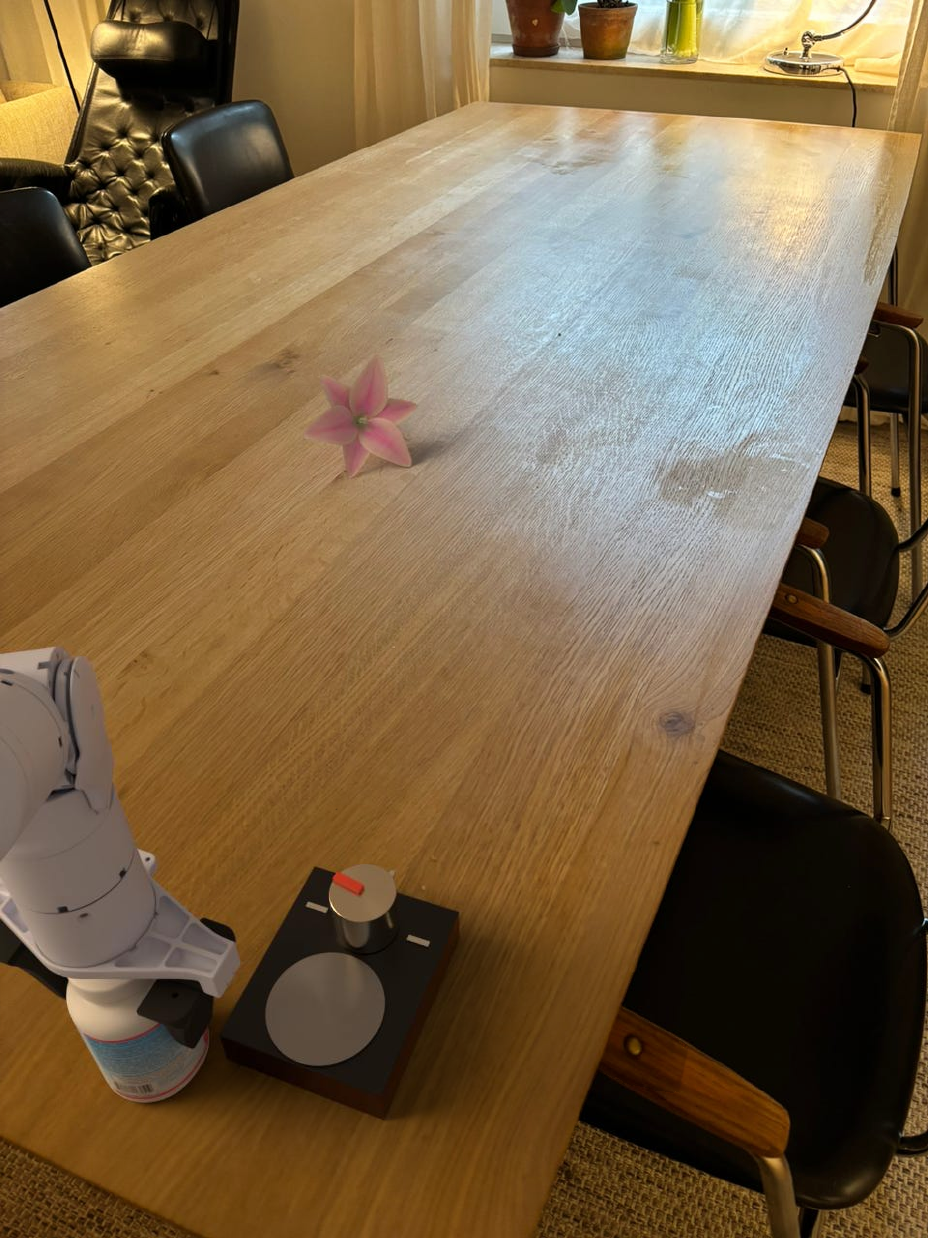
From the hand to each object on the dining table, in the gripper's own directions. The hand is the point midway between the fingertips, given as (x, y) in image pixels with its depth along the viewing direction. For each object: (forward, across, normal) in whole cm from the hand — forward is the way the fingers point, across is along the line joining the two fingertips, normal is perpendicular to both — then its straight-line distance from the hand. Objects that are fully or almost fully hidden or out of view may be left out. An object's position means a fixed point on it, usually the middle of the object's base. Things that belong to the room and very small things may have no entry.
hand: (137, 1007), depth 55 cm
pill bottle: (+5, 0, 0) cm, 5 cm away
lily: (+6, +16, -64) cm, 66 cm away
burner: (+2, -9, -5) cm, 10 cm away
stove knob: (+2, -9, -10) cm, 14 cm away
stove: (+5, -9, -7) cm, 13 cm away
